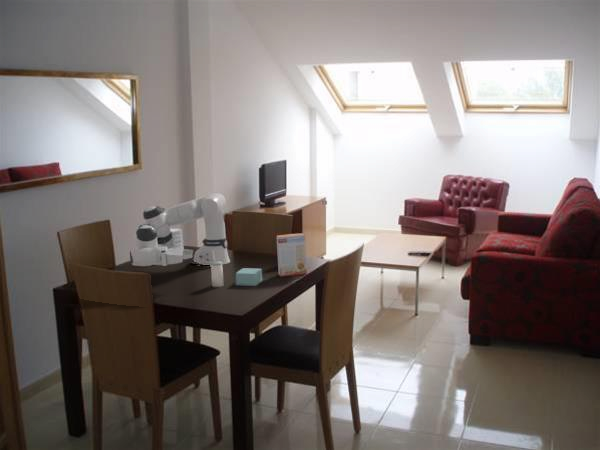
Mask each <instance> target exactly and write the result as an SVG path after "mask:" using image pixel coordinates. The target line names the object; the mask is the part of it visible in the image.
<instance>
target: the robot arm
mask: <svg viewBox="0 0 600 450" xmlns="http://www.w3.org/2000/svg"><path fill="white" fill-rule="evenodd" d="M226 203H227V200H226V197H225V196H224V195H223V194H221V193H218V192H213V193H209V194H206V195H204V196H201V197H198V198H194V199H192V200H189V201H186V202H183V203H179V204H175V205H173V206H171V207H169V208H164V207H161V206H157V205H153V206H149V207H147V208H146V209H145V210H143V212H142V216H143V217H142V218H143V219H144V221H145V223H143V224H140V225H139V226H138V227H137V228H136V229H135V231H134V242H135V244H136V246H137V248H135V249H131V250H130V251H129V260H130V264H131V265H132V266H133V267H134V266H135V267H136V266H137V267H149V266H152V265H153V266H154V265H155V266H163V267H165V266H168V265H175V264H176V265H177V264H181V263H183V260H188V259H192V258H193V260H194V262H197V263H199V264H203V265H210V266H209V267H211V262H213V261H222V266H223V265H227V264H230V262H231V260H230V256H229V252H228V239H227V238H228V237H227V235H226V224H225V220H224V216H223V210H224V209H225V207H226ZM202 218H203V221H204V227H205V228H204V229H205V238H204V239H203V240H202V241H201V243H203V245H202V246H201V247H200V248H198V249H197V250H196V251H195V252H194V250H193V249H186V248H185V247H184V246H183V247H175V248H169V249H167V246H165V247H162V244H166V243H168V242H169V241H170V240H171V239H172V232H171V231H170V229H171V228H170V227H172V226H178V225H183V224H186V223H189V222H193V221H196V220H199V219H202ZM160 245H161V246H160Z"/></svg>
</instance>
